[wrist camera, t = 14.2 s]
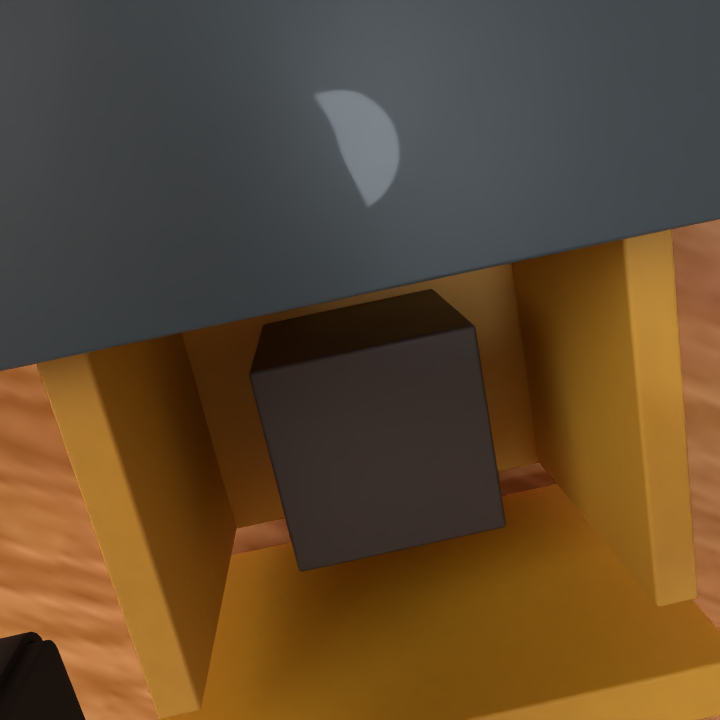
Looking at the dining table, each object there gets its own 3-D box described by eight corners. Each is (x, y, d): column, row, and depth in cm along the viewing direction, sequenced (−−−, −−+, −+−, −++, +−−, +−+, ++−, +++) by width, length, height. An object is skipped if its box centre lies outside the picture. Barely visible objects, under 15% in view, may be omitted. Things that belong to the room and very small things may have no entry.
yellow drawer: (600, 640, 22) (758, 888, 14) (248, 720, 21) (218, 1015, 14) (527, 29, 17) (709, -92, 9) (69, 121, 16) (-128, 76, 9)
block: (300, 481, 18) (299, 574, 14) (261, 324, 17) (247, 372, 13) (460, 446, 18) (507, 527, 14) (433, 288, 17) (476, 324, 13)
